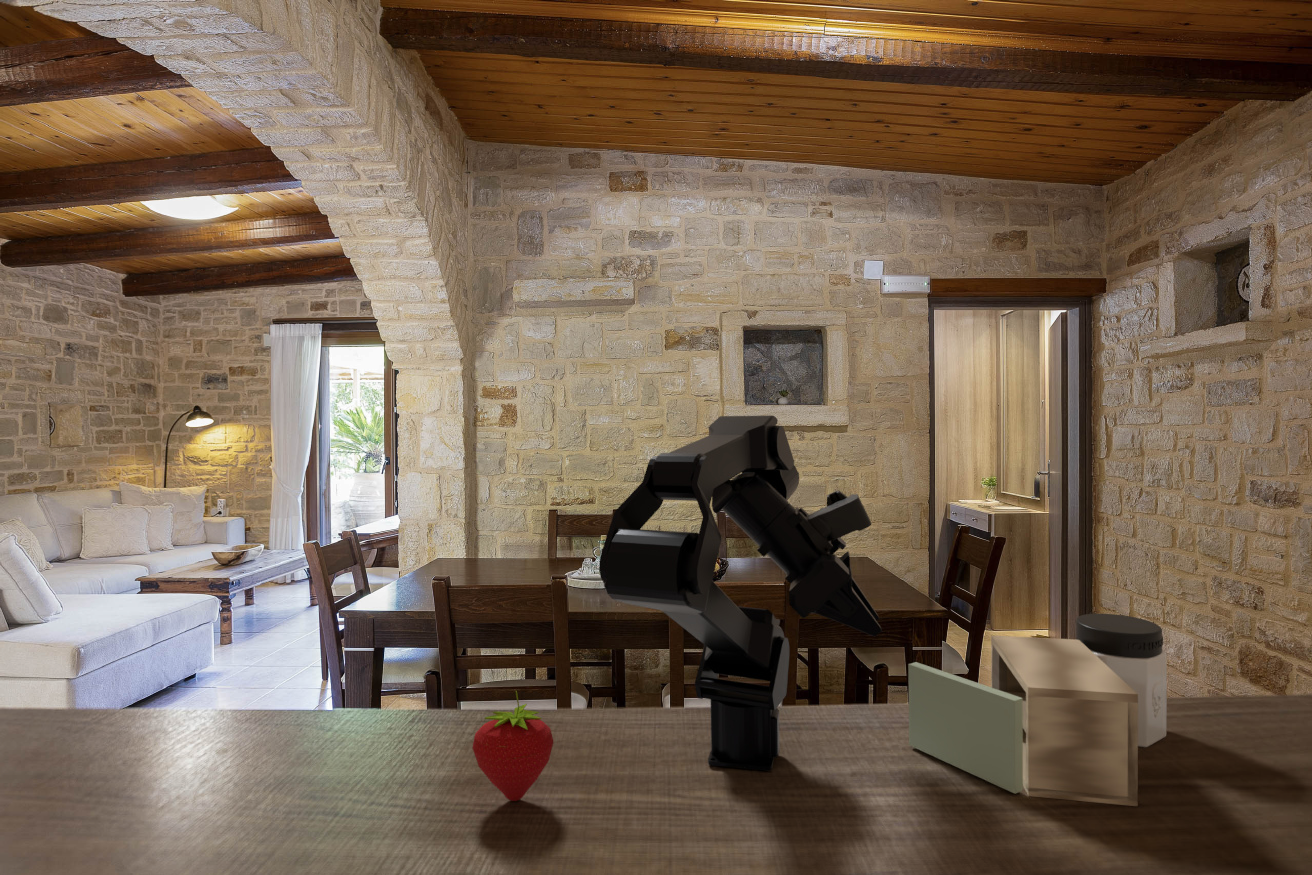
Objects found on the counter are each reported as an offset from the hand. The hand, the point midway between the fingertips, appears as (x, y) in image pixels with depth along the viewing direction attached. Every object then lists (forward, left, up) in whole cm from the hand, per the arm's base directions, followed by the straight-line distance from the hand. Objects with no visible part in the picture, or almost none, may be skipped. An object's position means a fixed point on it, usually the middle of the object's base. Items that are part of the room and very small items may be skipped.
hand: (877, 626), depth 78 cm
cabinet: (+17, +1, -13) cm, 22 cm away
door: (+8, -3, -13) cm, 15 cm away
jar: (+26, +10, -13) cm, 31 cm away
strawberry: (-34, -17, -13) cm, 40 cm away
